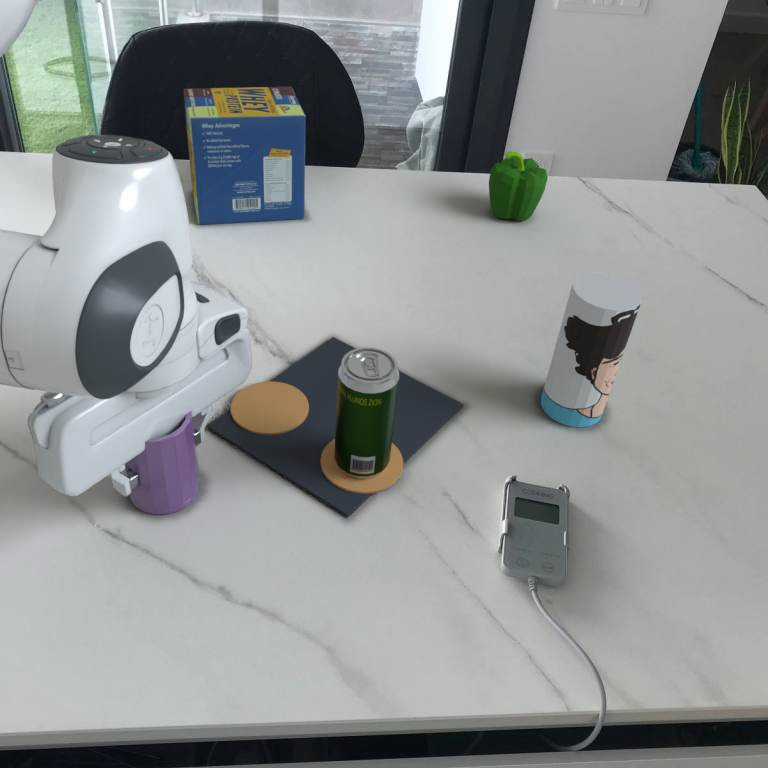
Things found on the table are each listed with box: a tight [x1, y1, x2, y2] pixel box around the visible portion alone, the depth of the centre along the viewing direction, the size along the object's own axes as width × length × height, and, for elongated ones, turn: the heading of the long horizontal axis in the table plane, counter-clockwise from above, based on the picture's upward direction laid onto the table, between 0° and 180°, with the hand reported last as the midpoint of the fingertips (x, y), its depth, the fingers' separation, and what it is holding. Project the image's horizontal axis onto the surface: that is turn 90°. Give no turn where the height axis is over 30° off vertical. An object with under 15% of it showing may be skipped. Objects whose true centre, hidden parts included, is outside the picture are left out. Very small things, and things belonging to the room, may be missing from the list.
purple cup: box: [125, 411, 201, 516], centre depth 68 cm, size 6×6×9 cm
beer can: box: [334, 346, 400, 480], centre depth 71 cm, size 5×5×12 cm
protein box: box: [182, 86, 307, 225], centre depth 109 cm, size 10×15×16 cm
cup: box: [540, 271, 644, 428], centre depth 80 cm, size 7×7×15 cm
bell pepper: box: [488, 150, 549, 222], centre depth 115 cm, size 8×8×10 cm
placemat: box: [206, 336, 465, 518], centre depth 80 cm, size 20×20×1 cm
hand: (161, 464), depth 69 cm, fingers closed on purple cup, 6 cm apart
